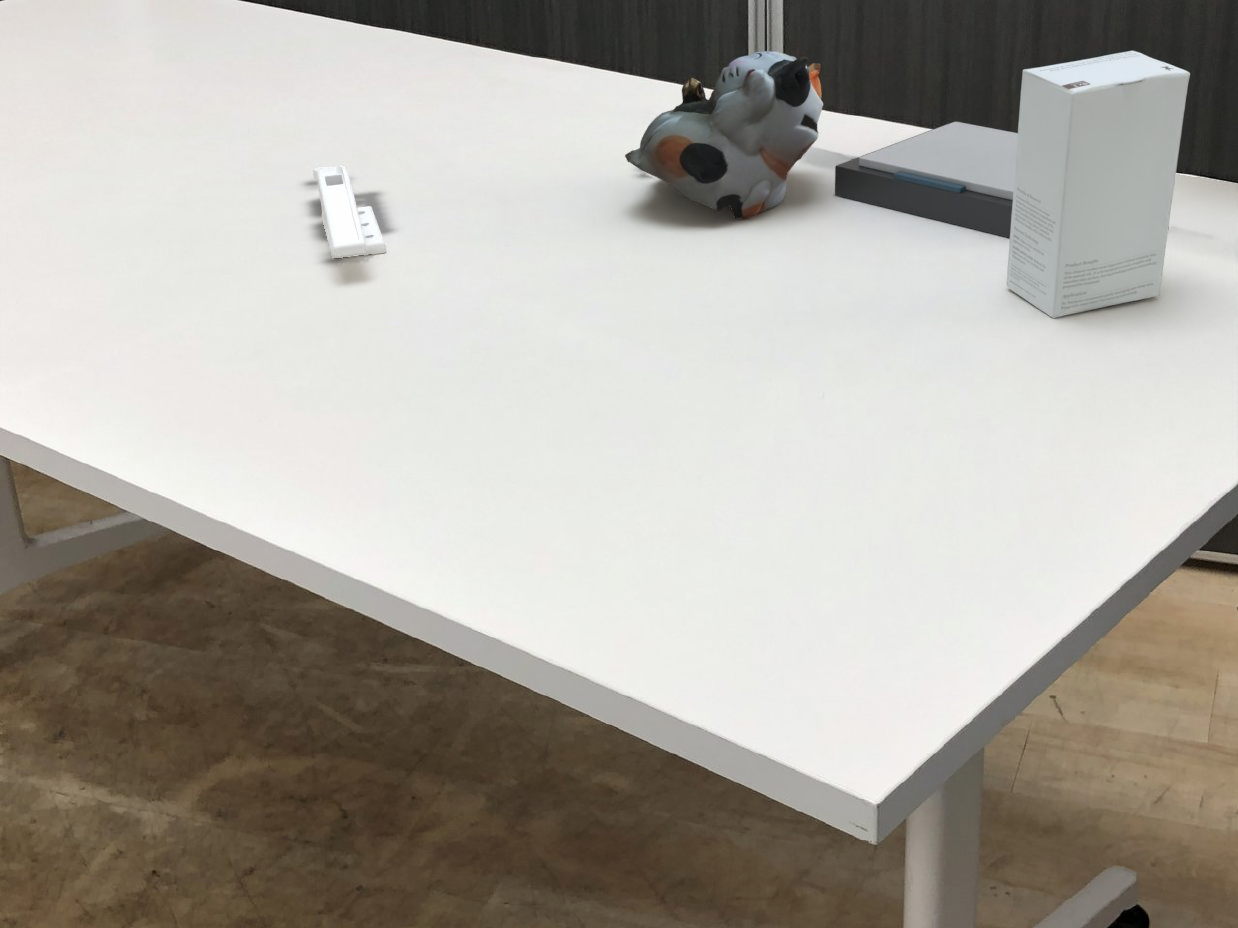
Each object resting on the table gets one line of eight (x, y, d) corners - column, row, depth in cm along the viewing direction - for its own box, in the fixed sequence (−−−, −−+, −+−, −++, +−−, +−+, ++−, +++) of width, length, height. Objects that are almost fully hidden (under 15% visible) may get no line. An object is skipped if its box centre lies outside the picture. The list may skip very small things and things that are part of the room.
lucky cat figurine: (669, 165, 123) (746, 13, 118) (787, 236, 120) (871, 82, 115) (597, 164, 109) (680, -8, 104) (727, 244, 106) (819, 70, 101)
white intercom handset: (366, 195, 120) (357, 131, 117) (395, 277, 103) (386, 203, 100) (317, 201, 119) (307, 136, 116) (338, 285, 102) (327, 211, 99)
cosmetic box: (1108, 270, 97) (1135, 47, 90) (1164, 301, 92) (1198, 67, 85) (998, 290, 95) (1018, 63, 88) (1050, 322, 90) (1075, 84, 83)
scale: (1127, 189, 112) (1132, 150, 111) (1021, 241, 103) (1025, 199, 102) (944, 151, 123) (947, 115, 122) (834, 195, 114) (835, 157, 113)
